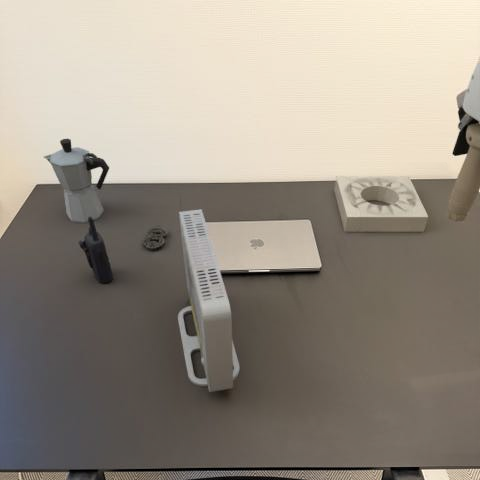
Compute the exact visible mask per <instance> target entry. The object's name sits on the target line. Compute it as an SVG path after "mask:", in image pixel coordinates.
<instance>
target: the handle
mask: <svg viewBox="0 0 480 480" xmlns="http://www.w3.org/2000/svg"><path fill="white" fill-rule="evenodd" d="M466 139H467V142H468V144H469V145H470V148H469V151H468V153H467V154H466V156H465V158H464V160H463V163H462V166H461V168H460V170H459V173H458V174H457V178H456V180H455V182H454V184H453V187H452V190H451V193H450V197H449V202H448V207H447V212H446V217H447V219H450V220H452V221H454V222H462V221H465V220H466V218H467V216H468V213H469V212H470V211H471V209H472V207H473V205H474V204H475V201H476V199H477V196H478V195H479V192H480V123H479V124H471V125H469V126H468V128H467V131H466Z"/></svg>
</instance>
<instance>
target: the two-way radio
mask: <svg viewBox="0 0 480 480" xmlns="http://www.w3.org/2000/svg"><path fill="white" fill-rule="evenodd" d="M88 221H89V222H88V224H89V227H88V232H87V233H86V234H85V235H84V240H79V241H78V245H79V248H81V249H82V250H83V252H84V254H85V257H86V261H87V263H88V266H89V268H90V269H92V273H93V275H94V278H95V279H96V281H97V282H98V283H100V284H107V283H111V282H112V281H113V280H114V275H113V270H112V266H111V262H110V258H109V255H108V253H107V249H106V245H105V241H104V239H103V237H102V235H101V234H100V233H99V232H98V231H97V228H96V225H95V222H94V220H93V219H92V217H91V216H89V217H88Z"/></svg>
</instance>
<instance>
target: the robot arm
mask: <svg viewBox="0 0 480 480" xmlns="http://www.w3.org/2000/svg"><path fill="white" fill-rule="evenodd" d="M456 105H457V108H458V111H457V115H458V119H459V122H458V124H457V129H458V130H459V131H458V135H457V138H456V141H455V143H454V146H453V149H452V153H451V154H452V155H453V156H454V157H457V156H463V155H467V153H468V151H469V148H470V145H469V144H468V142H467V139H466V131H467V128H468V126H469V125H471V124H479V123H480V57H478V60H477V62H476V64H475V67H474V69H473V71H472V74H471V77H470V79H469V82H468V85H467V88H466V89H464V90H463V91H461V92H460V93H459V94H457V96H456Z"/></svg>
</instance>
